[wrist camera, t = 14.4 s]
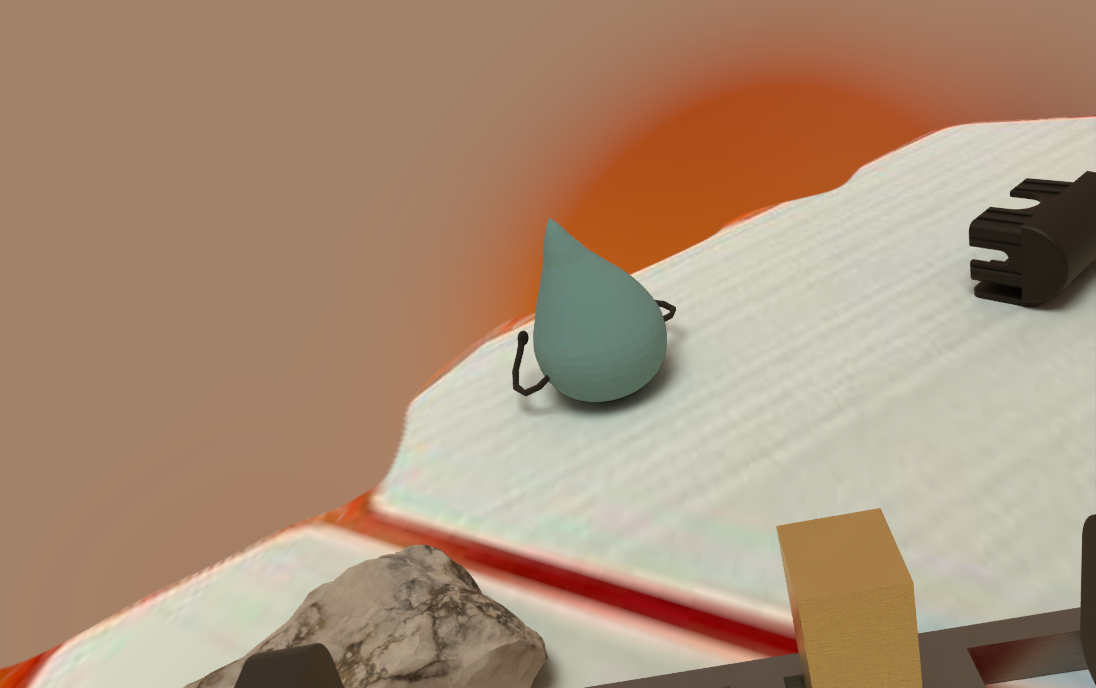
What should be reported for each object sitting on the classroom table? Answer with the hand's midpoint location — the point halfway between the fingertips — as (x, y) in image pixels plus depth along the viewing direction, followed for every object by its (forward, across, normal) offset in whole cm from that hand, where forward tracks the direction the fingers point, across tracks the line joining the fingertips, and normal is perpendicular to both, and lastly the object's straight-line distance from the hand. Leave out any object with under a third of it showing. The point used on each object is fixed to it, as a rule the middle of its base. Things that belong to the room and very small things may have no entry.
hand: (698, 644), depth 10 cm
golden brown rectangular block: (+21, -6, +27) cm, 35 cm away
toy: (+57, +2, +25) cm, 62 cm away
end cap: (+57, -32, +24) cm, 69 cm away
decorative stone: (+28, +18, +28) cm, 44 cm away
